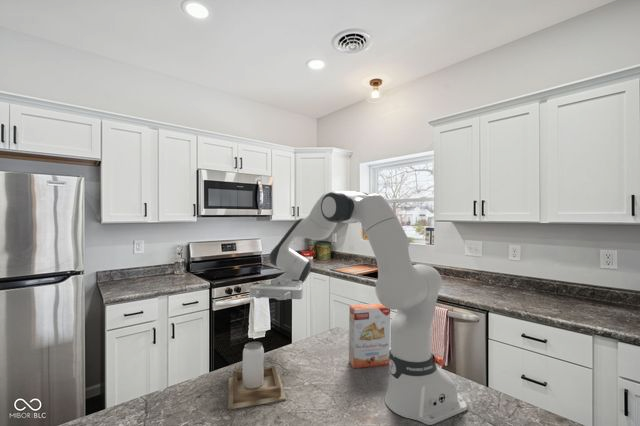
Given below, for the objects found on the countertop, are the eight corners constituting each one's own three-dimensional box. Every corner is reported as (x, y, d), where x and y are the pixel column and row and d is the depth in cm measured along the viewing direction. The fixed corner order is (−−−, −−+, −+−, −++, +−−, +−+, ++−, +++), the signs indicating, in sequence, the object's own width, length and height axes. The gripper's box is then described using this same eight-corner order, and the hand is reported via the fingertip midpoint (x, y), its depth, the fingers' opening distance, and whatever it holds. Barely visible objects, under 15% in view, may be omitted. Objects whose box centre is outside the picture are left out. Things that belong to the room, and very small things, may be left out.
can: (260, 390, 90) (260, 350, 90) (239, 389, 91) (239, 349, 91) (265, 379, 96) (266, 341, 97) (246, 377, 97) (247, 340, 97)
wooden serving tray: (278, 372, 102) (278, 363, 102) (285, 400, 86) (285, 389, 86) (229, 379, 97) (229, 369, 97) (228, 409, 82) (228, 398, 82)
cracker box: (353, 369, 104) (354, 309, 105) (348, 361, 110) (348, 304, 111) (390, 365, 107) (390, 307, 108) (383, 357, 113) (383, 302, 114)
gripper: (256, 279, 121) (242, 286, 107) (306, 281, 117) (298, 289, 104) (256, 294, 120) (242, 304, 107) (305, 297, 117) (297, 307, 104)
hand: (270, 296), depth 105 cm, fingers open, 8 cm apart
